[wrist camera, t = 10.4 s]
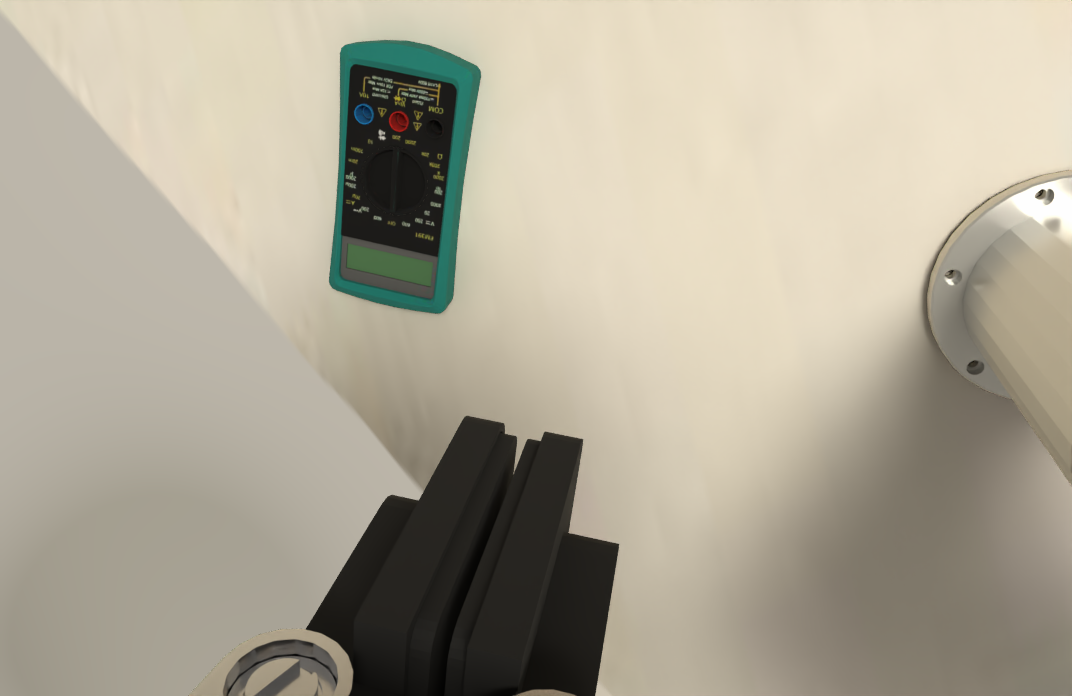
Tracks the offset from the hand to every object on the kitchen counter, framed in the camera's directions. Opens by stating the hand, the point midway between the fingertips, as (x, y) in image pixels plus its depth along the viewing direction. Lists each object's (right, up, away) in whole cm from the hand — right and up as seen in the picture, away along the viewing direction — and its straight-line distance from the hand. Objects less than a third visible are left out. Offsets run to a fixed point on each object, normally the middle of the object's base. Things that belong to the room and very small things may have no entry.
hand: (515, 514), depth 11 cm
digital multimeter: (-7, +12, +36) cm, 39 cm away
